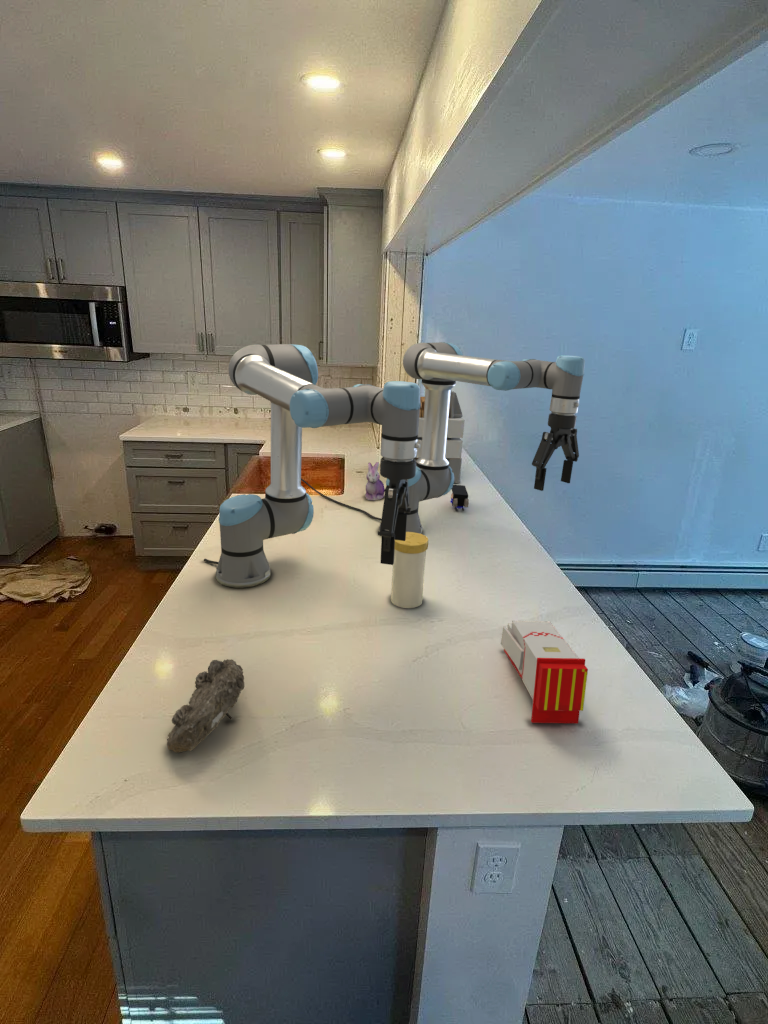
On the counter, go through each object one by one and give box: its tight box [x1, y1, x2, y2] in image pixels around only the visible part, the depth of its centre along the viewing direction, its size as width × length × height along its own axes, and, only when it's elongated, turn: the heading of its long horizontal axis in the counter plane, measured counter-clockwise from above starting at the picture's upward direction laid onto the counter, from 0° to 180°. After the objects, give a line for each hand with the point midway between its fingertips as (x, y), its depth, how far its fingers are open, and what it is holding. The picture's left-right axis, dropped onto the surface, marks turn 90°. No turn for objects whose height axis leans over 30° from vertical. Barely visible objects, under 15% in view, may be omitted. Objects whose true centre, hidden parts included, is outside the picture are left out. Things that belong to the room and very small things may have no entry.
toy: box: [500, 620, 589, 724], centre depth 121 cm, size 12×13×30 cm
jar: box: [390, 549, 427, 609], centre depth 152 cm, size 9×9×18 cm
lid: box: [395, 532, 429, 554], centre depth 149 cm, size 9×10×2 cm
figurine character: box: [449, 484, 470, 512], centre depth 229 cm, size 7×8×15 cm
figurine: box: [364, 461, 386, 501], centre depth 234 cm, size 9×10×15 cm
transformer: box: [414, 390, 465, 484], centre depth 268 cm, size 34×33×41 cm
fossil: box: [166, 658, 245, 754], centre depth 106 cm, size 22×10×15 cm
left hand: (393, 551), depth 125 cm, fingers open, 13 cm apart
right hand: (552, 485), depth 166 cm, fingers open, 13 cm apart
